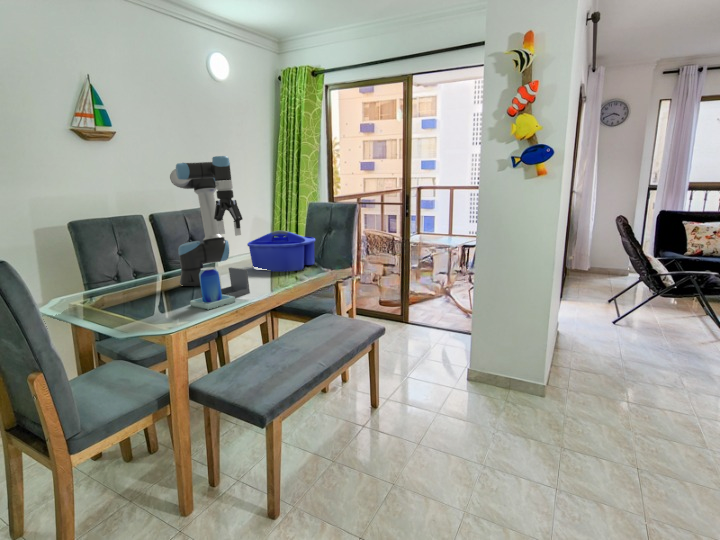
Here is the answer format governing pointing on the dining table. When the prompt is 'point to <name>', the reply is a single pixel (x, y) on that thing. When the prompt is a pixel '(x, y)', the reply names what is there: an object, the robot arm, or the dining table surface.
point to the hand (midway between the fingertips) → (230, 234)
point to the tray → (202, 305)
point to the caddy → (282, 251)
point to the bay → (237, 282)
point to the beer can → (210, 285)
